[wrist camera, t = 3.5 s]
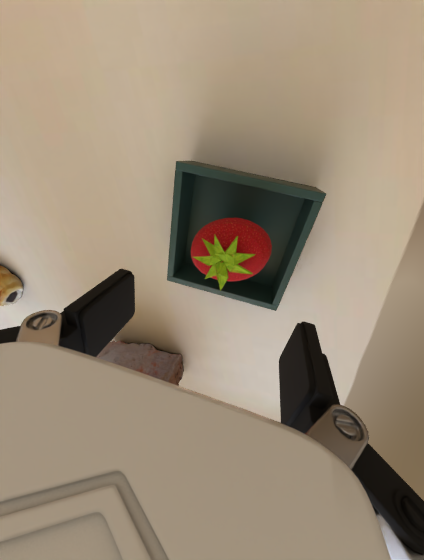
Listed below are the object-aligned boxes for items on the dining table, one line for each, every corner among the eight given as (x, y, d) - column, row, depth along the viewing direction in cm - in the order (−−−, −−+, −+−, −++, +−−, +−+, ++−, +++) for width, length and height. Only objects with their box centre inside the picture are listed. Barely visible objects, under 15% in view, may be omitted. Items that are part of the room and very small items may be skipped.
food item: (119, 361, 43) (83, 410, 35) (111, 331, 39) (69, 379, 31) (184, 376, 41) (162, 433, 32) (183, 347, 37) (158, 402, 28)
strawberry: (272, 255, 25) (273, 305, 16) (209, 258, 27) (182, 305, 18) (270, 201, 22) (271, 228, 14) (201, 210, 24) (164, 239, 16)
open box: (191, 160, 22) (175, 161, 19) (316, 187, 21) (326, 193, 17) (180, 264, 29) (166, 280, 25) (275, 290, 27) (276, 311, 24)
